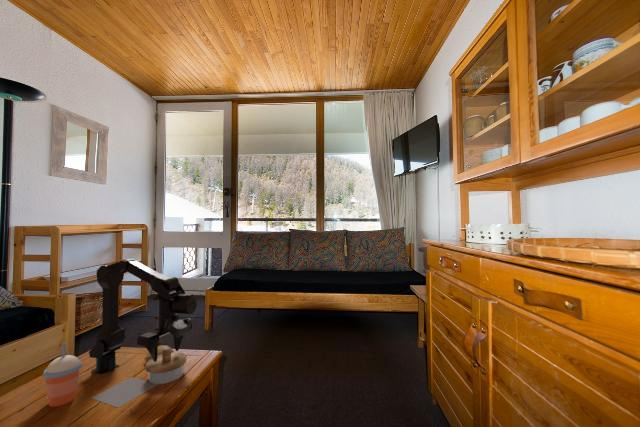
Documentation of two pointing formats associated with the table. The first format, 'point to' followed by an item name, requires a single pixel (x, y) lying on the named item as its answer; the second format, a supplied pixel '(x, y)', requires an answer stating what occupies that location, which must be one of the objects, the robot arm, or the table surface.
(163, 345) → the bread roll
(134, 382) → the mat
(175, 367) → the lid
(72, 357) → the cup with straw
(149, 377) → the bowl
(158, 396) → the table surface
